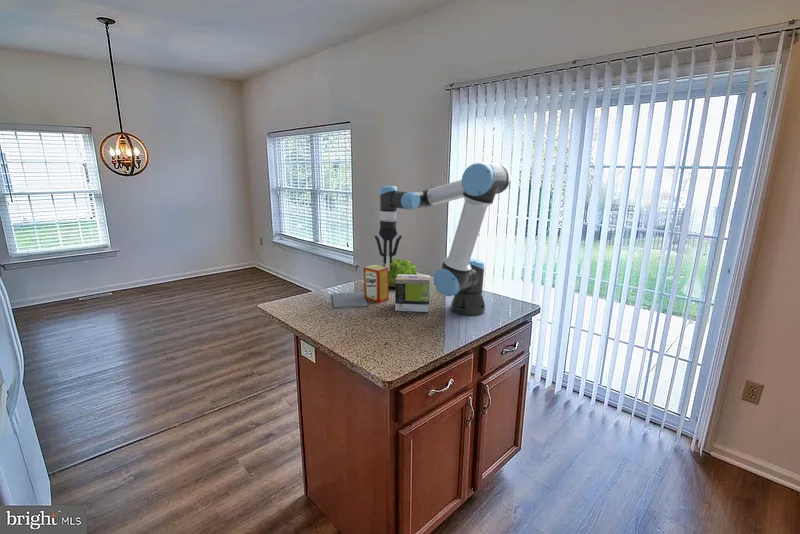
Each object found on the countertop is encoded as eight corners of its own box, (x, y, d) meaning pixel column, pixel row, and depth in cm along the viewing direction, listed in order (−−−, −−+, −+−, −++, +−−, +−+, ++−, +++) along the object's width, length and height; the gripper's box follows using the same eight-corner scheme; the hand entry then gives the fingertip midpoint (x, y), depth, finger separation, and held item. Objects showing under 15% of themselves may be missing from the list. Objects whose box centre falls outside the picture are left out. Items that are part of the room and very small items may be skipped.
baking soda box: (388, 299, 187) (388, 266, 183) (379, 303, 182) (378, 269, 178) (374, 295, 193) (373, 263, 189) (364, 298, 188) (363, 266, 184)
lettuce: (422, 289, 214) (423, 262, 215) (403, 286, 196) (405, 256, 197) (396, 289, 222) (398, 262, 223) (376, 286, 204) (378, 257, 205)
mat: (367, 306, 177) (367, 305, 177) (334, 308, 174) (334, 306, 174) (362, 293, 196) (362, 291, 196) (332, 294, 193) (332, 293, 193)
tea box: (429, 305, 181) (430, 274, 177) (428, 313, 171) (430, 280, 167) (396, 303, 182) (397, 272, 178) (394, 311, 172) (395, 278, 169)
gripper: (400, 219, 185) (399, 267, 191) (373, 219, 182) (372, 268, 188) (403, 221, 178) (402, 271, 183) (375, 221, 175) (374, 272, 181)
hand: (387, 270), depth 186 cm, fingers closed
